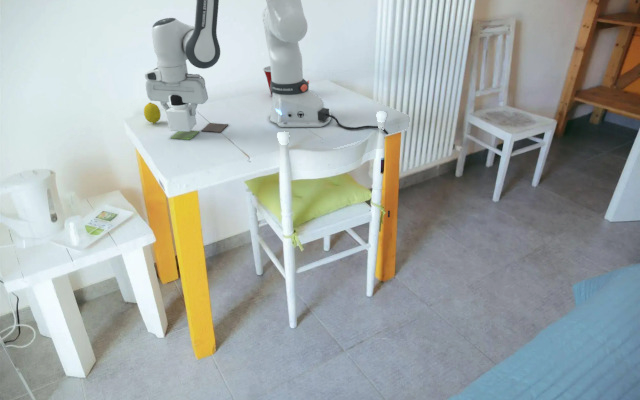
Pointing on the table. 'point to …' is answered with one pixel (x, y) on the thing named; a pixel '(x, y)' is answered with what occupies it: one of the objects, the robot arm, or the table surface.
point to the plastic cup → (268, 75)
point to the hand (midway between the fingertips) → (181, 114)
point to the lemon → (152, 113)
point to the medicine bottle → (179, 115)
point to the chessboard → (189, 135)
